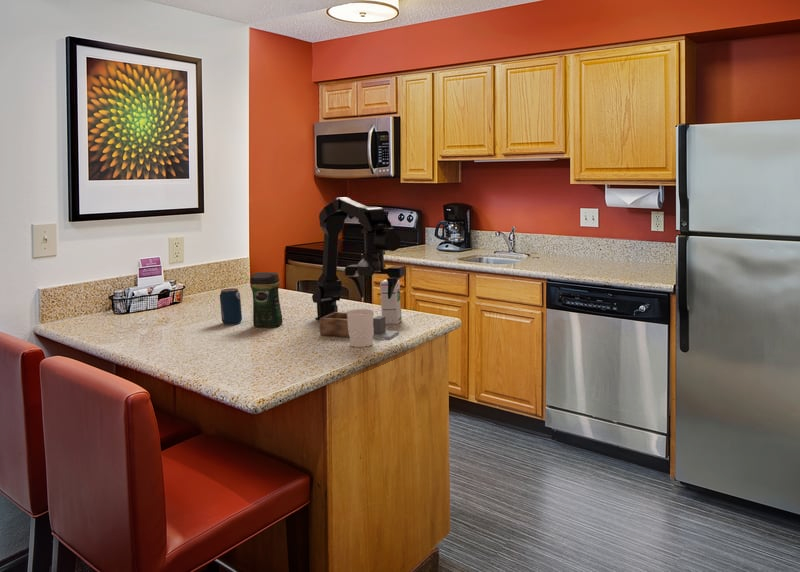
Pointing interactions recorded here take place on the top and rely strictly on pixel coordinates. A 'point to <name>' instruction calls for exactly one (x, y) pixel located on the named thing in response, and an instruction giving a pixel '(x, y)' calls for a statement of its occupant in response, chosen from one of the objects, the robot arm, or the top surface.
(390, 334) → the cover plate
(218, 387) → the top surface
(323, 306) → the robot arm
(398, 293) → the syrup box
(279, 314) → the coffee jar
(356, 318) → the beige cup
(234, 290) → the soda can
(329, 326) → the walnut box
